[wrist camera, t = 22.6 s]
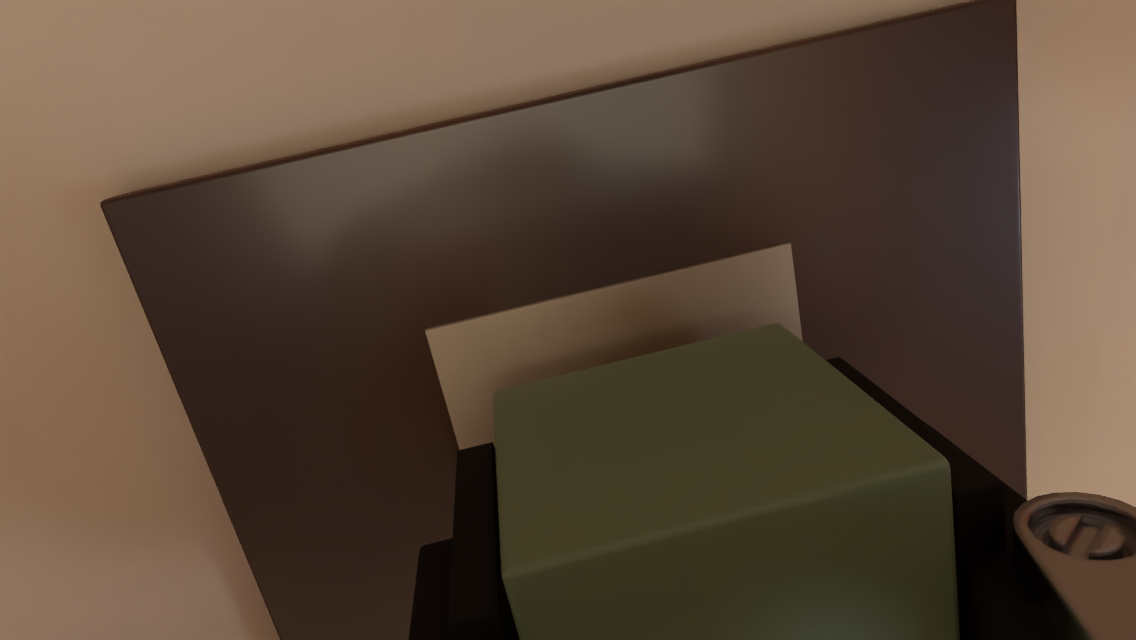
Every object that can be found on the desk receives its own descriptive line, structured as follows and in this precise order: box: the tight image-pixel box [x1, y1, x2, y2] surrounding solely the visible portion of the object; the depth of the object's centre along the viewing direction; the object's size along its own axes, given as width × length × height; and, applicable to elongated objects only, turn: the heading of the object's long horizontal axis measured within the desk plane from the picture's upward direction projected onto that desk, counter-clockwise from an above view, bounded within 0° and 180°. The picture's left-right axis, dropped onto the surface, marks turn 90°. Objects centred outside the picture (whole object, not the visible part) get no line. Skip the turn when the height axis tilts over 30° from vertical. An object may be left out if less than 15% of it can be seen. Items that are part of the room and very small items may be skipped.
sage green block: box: [493, 323, 960, 640], centre depth 10 cm, size 4×4×4 cm
